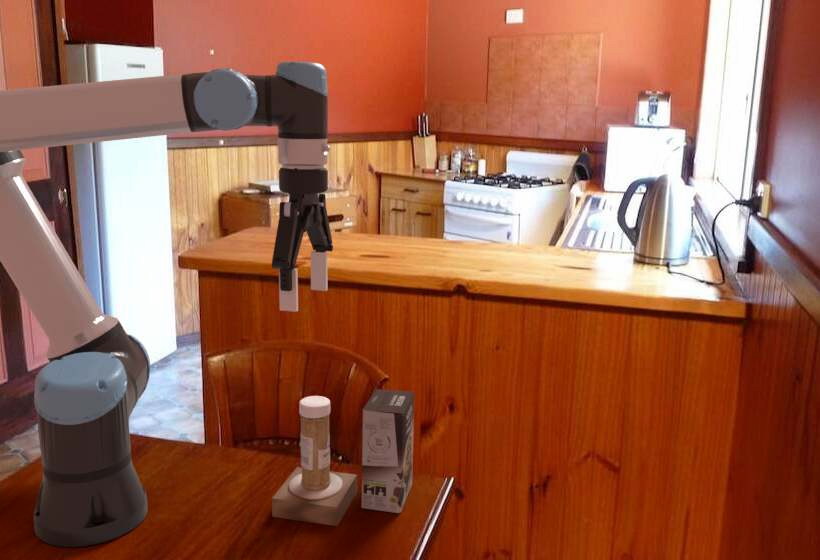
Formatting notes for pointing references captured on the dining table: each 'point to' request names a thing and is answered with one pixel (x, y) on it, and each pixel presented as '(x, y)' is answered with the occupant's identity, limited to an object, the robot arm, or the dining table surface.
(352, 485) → the base
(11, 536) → the dining table surface
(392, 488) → the coffee box
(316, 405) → the sprinkles bottle
